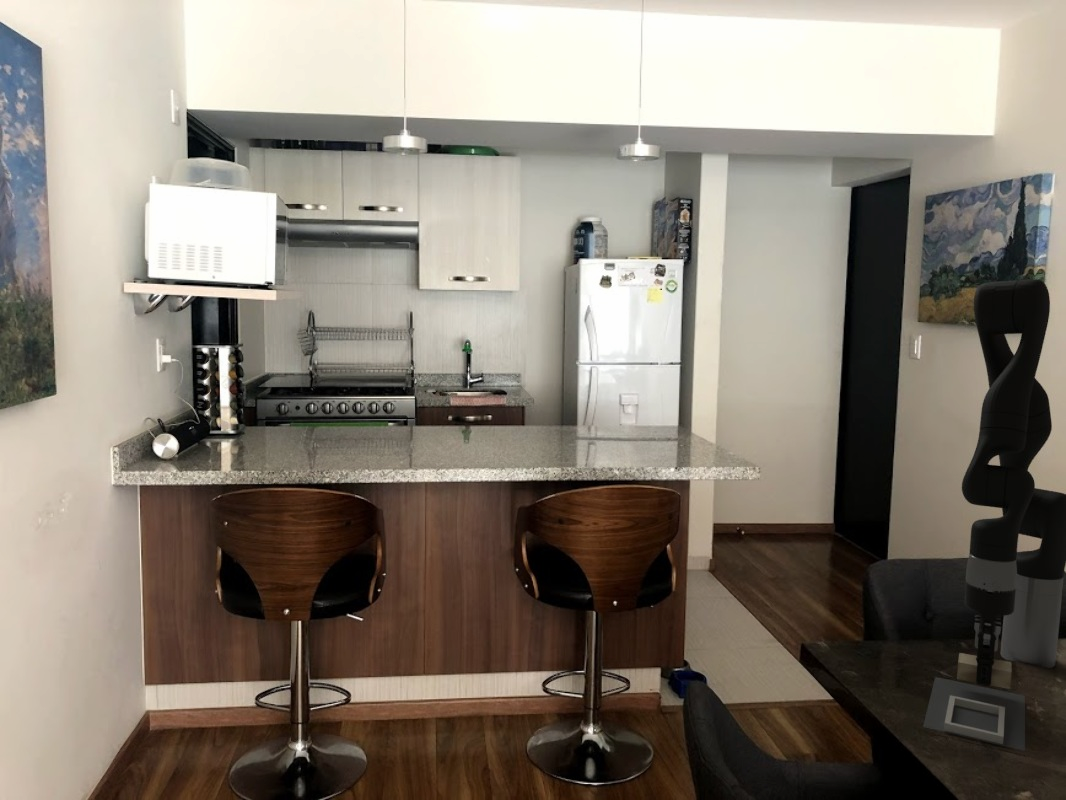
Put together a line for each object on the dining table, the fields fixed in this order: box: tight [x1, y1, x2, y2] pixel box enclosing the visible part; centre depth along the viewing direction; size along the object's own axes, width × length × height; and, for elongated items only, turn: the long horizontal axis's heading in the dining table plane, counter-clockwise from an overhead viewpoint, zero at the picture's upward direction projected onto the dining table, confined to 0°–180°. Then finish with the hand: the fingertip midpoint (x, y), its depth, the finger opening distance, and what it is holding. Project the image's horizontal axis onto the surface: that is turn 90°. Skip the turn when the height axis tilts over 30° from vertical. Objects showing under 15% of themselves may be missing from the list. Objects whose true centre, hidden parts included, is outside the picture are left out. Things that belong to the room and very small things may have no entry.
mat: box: [922, 676, 1026, 757], centre depth 142 cm, size 22×14×1 cm, turn 151°
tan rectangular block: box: [956, 652, 1013, 690], centre depth 148 cm, size 8×4×3 cm, turn 62°
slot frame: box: [944, 695, 1005, 744], centre depth 138 cm, size 12×8×1 cm
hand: (983, 678), depth 148 cm, fingers closed on tan rectangular block, 4 cm apart
